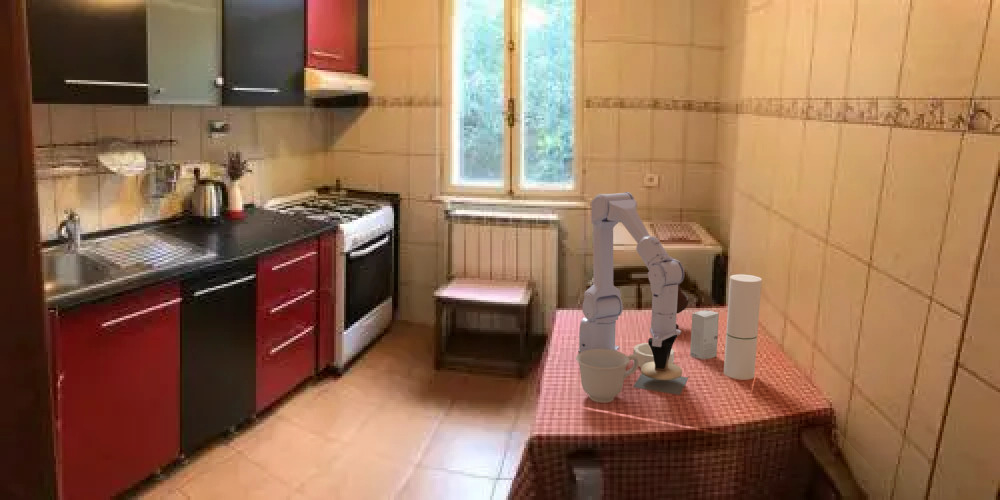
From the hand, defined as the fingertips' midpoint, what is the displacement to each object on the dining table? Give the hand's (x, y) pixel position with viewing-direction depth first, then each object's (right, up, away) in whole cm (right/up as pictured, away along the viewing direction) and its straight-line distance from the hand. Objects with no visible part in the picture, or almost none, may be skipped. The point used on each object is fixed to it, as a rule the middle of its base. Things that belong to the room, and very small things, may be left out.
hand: (661, 365), depth 160 cm
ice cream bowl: (+13, +4, +43) cm, 45 cm away
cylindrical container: (+20, -4, +6) cm, 22 cm away
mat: (0, -5, +1) cm, 5 cm away
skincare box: (+16, -1, +19) cm, 24 cm away
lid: (0, -2, 0) cm, 2 cm away
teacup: (-14, -7, -7) cm, 17 cm away
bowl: (+1, -2, +13) cm, 14 cm away
